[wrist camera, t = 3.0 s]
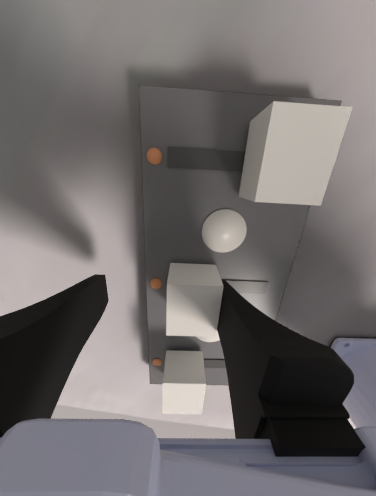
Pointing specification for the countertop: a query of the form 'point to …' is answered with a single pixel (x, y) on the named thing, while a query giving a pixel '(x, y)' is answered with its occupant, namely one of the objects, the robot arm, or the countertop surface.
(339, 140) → the switch
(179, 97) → the switch panel
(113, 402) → the countertop surface
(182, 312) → the switch
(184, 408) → the switch
